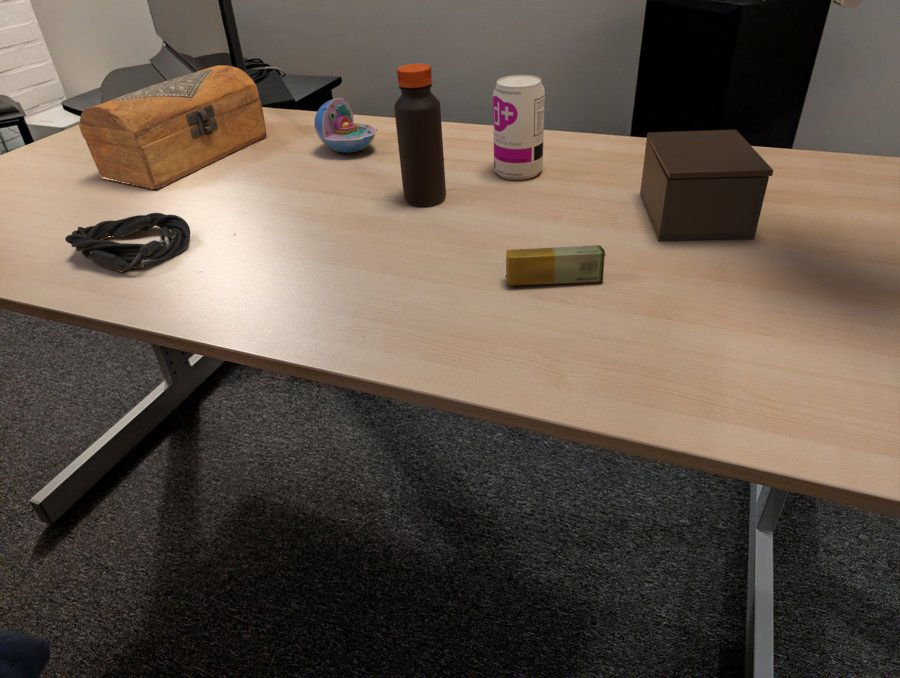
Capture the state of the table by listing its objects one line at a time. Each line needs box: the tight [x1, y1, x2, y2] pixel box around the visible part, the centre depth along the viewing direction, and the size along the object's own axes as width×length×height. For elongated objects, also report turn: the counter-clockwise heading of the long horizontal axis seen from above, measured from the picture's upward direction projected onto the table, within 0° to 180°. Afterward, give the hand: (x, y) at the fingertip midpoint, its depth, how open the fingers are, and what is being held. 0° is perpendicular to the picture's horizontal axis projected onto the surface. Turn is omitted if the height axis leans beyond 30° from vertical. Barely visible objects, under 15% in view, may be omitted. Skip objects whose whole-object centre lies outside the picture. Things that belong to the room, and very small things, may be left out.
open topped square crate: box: [639, 138, 770, 242], centre depth 92 cm, size 16×13×9 cm
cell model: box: [313, 97, 378, 154], centre depth 122 cm, size 10×12×10 cm
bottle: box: [393, 63, 447, 207], centre depth 99 cm, size 7×7×20 cm
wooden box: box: [78, 64, 268, 190], centre depth 123 cm, size 30×16×14 cm, turn 150°
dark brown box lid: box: [646, 129, 774, 179], centre depth 89 cm, size 16×13×1 cm
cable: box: [64, 212, 191, 272], centre depth 95 cm, size 17×14×4 cm
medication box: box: [505, 244, 606, 287], centre depth 81 cm, size 12×3×4 cm, turn 92°
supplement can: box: [492, 74, 546, 181], centre depth 107 cm, size 8×8×15 cm
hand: (844, 5), depth 67 cm, fingers closed
